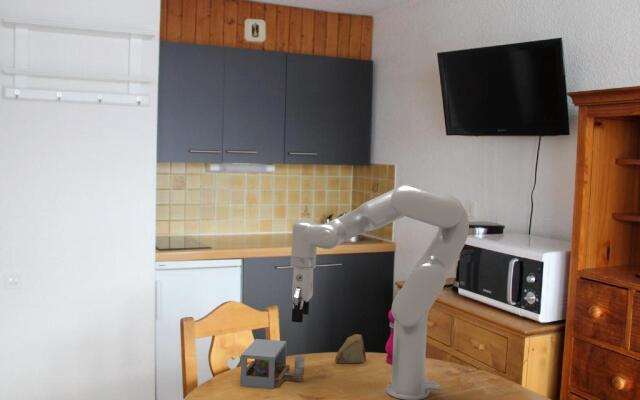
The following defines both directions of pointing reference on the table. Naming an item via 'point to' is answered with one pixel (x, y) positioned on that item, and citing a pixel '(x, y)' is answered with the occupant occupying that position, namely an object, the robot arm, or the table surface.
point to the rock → (352, 350)
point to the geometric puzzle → (262, 367)
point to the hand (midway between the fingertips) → (300, 317)
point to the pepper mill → (390, 340)
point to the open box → (263, 351)
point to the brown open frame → (284, 371)
